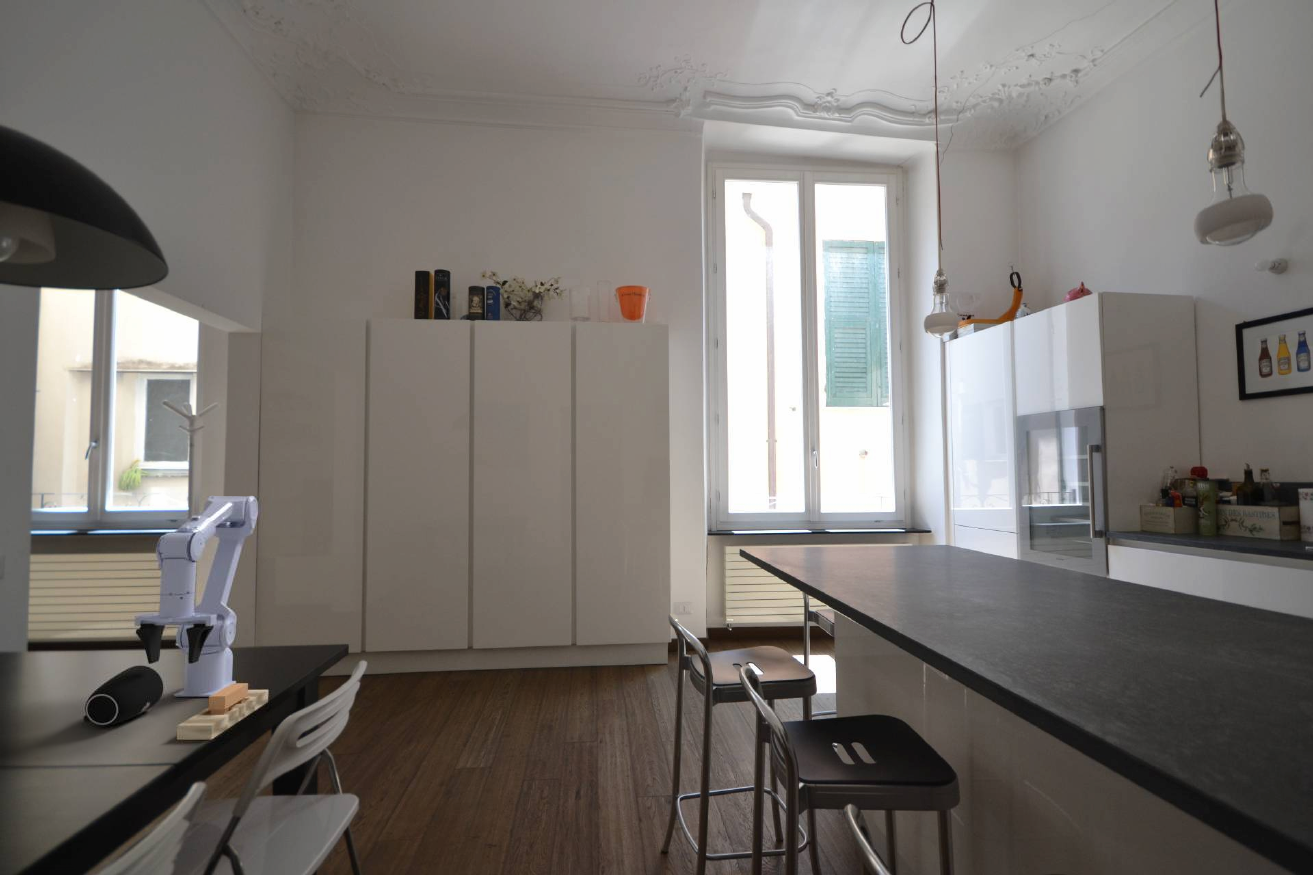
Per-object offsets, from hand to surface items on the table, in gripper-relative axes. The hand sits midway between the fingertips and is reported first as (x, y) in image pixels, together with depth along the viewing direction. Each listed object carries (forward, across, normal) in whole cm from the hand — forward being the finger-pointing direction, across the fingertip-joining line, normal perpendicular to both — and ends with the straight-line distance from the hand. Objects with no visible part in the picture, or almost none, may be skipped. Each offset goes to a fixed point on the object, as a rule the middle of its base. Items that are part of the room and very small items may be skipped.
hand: (173, 662), depth 135 cm
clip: (+10, +12, -2) cm, 16 cm away
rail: (+10, +12, -2) cm, 16 cm away
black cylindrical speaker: (+7, -9, -8) cm, 14 cm away
